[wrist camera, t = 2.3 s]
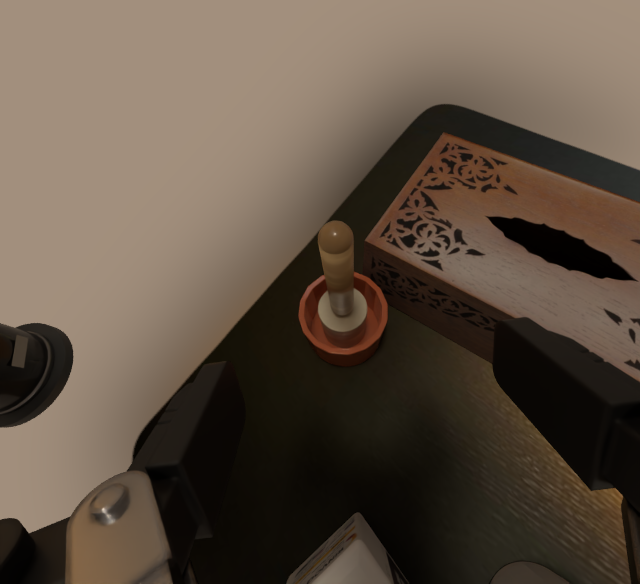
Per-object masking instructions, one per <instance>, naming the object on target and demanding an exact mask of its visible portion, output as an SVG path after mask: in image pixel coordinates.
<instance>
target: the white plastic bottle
mask: <svg viewBox="0 0 640 584" xmlns="http://www.w3.org/2000/svg"><path fill="white" fill-rule="evenodd" d="M490 584H570V583H569V582H568V581H566V580H565V579H563V578H562V577H561V576H559V575H557V574H555V573H554V572H552V571H551V570H549V569H548V568H546V567H544V566H542V565H539V564H536V563H532V562H525V561H521V562H514V563H510V564H508V565H506V566H504V567H503V568H502V569H500V570H499V571H498V572H497V573H496V575H495V576H494V577H493V579H492V581H491V583H490Z"/></svg>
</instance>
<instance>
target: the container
mask: <svg viewBox="0 0 640 584" xmlns="http://www.w3.org/2000/svg"><path fill="white" fill-rule="evenodd" d="M286 584H409V582H408V581H407V579H406V578H405V577H404V575H403V574H402V572H401V571H400V569H399V568H398V567H397V565H396V564H395V562H394V561H393V559H392V558H391V556H390V555H389V554H388V552H387V551H386V549H385V548H384V546H383V545H382V544H381V542H380V541H379V539H378V538H377V536H376V535H375V533H374V532H373V531H372V529H371V528H370V526H369V525H368V523H367V522H366V520H365V519H364V518H363V516H362V515H361V514H360V513H355V514H354V515H353V516H352V517H351V518H350V519H348V520H347V521H346V522H345V523H344V524H343V525H342V526H341V527H340V528H339V529H338V530H337V531H336V532H335V533H334V534H333V535H332V536H331V537H330V538H329V539H328V540H327V541H326V542H324V543H323V544H322V545H321V546H320V547H319V548H318V549H317V550H316V551H315V552H314V553H313V554H312V555H311V556H310V557H309V558H308V559H307V560H306V561H305V562H304V563H303V564H302V565H300V566H299V567H298V568H297V569H296V570H295V571H294V572H293V573H292V574H291V575H290V577H289V578H288V581H287V583H286Z"/></svg>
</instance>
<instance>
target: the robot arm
mask: <svg viewBox="0 0 640 584" xmlns="http://www.w3.org/2000/svg"><path fill="white" fill-rule="evenodd" d="M53 364H54V350H53V347H52V344H51V343H50V341H49V340H48V339H47V338H46V337H45V336H43V335H41V334H38V333H34V332H30V331H24V330H21V329H17V328H14V327H10V326H7V325H4V324H1V323H0V415H3V414H8V413H11V412H14V411H16V410H18V409H20V408H22V407H23V406H25V405H26V404H28V403H29V402H30V401H31V400H32V399H33V398H34V397H35V396H36V395H37V394H38V393H39V392H40V391H41V390H42V388H43V387H44V385H45V384H46V382H47V380H48V379H49V376H50V374H51V371H52V368H53ZM493 372H494V376H495V378H496V381H497V383H498V384H499V386H500V387H501V388H502V389H503V391H504V392H505V393H506V394H507V395H508V396H509V397H510V399H511V400H512V401H513V402H514V403H515V404H516V405H517V407H518V408H519V409H520V410H521V411H522V412H523V413H524V415H525V416H526V417H527V418H528V419H529V420H530V421H531V423H532V424H533V425H534V426H535V427H536V428H537V429H538V431H539V432H540V433H541V434H542V435H543V436H544V437H545V439H546V440H547V441H548V442H549V443H550V444H551V445H552V447H553V448H554V449H555V450H556V451H557V452H558V453H559V455H560V456H561V457H562V458H563V459H564V460H565V461H566V463H567V464H568V465H569V466H570V467H571V468H572V469H573V471H574V472H575V473H576V474H577V475H578V476H579V477H580V479H581V480H582V481H583V482H584V483H585V484H586V485H587V487H588V488H589V489H590V490H591V491H593V490H601V489H608V488H616V489H617V490H618V491H619V492H620V493H621V494H622V495H623V500H622V504H621V511H622V519H623V526H624V533H625V541H626V548H627V555H628V563H629V570H630V577H631V584H640V382H639V381H637V380H636V379H634V378H633V377H631V376H630V375H628V374H626V373H625V372H623V371H622V370H620V369H619V368H617V367H616V366H614V365H612V364H611V363H609V362H605V361H604V359H603V358H601V357H600V356H598V355H597V354H595V353H594V352H590V351H589V349H587V348H586V347H584V346H583V345H581V344H579V343H578V342H576V341H575V340H573V339H572V338H569V337H566V336H563V335H561V334H558V333H555V332H553V331H548V330H546V329H545V328H543V327H542V326H540V325H539V324H537V323H536V322H534V321H533V320H531V319H530V318H528V317H521V318H514V319H507V320H501V321H498V322H497V323H496V324H495V328H494V346H493ZM245 416H246V410H245V402H244V398H243V395H242V392H241V389H240V386H239V382H238V379H237V376H236V373H235V370H234V367H233V364H232V363H231V362H230V361H224V362H218V363H211V364H205V365H204V366H203V367H202V368H201V370H200V372H199V373H198V375H197V377H196V379H195V380H194V382H193V383H189V384H187V385H186V386H185V387H184V388H183V389H181V390H180V391H179V392H178V393H177V394H176V395H175V396H174V397H173V399H172V400H171V402H170V403H169V405H168V407H167V408H166V410H165V413H163V415H162V416H161V418H160V419H159V421H158V425H156V426H155V427H154V429H153V430H152V432H151V434H150V435H149V437H148V438H147V440H146V442H145V443H144V445H143V446H142V448H141V449H140V451H139V453H138V454H137V456H136V457H135V459H134V461H133V462H132V464H131V465H130V467H129V469H128V470H127V472H124V473H120V474H118V475H116V476H114V477H112V478H110V479H108V480H106V481H105V482H103V483H101V484H100V485H99V486H97V487H96V488H95V489H94V490H92V491H91V492H90V493H89V494H88V495H87V496H86V497H85V498H84V499H83V500H82V501H81V502H80V504H79V505H78V506H77V507H76V509H75V510H74V512H73V514H72V515H71V516H70V517H68V518H66V519H63V520H61V521H58V522H56V523H54V524H51V525H49V526H46V527H44V528H41V529H39V530H37V531H34V532H32V533H28V532H27V531H26V529H25V528H24V527H23V525H22V524H21V523H20V521H19V520H17V519H14V518H7V519H2V520H0V584H199V583H198V580H197V577H196V574H195V571H194V568H193V565H192V562H191V560H190V558H189V555H190V551H191V548H192V545H193V542H194V539H201V538H209V537H213V534H214V531H215V527H216V523H217V520H218V516H219V513H220V509H221V506H222V502H223V498H224V495H225V491H226V488H227V484H228V480H229V477H230V473H231V470H232V466H233V462H234V459H235V455H236V452H237V448H238V445H239V441H240V437H241V434H242V430H243V427H244V423H245Z"/></svg>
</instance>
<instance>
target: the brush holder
mask: <svg viewBox="0 0 640 584" xmlns="http://www.w3.org/2000/svg"><path fill="white" fill-rule="evenodd" d="M354 288H355V289H356V290H358V291H359V292H360V293H361V294H362V295H363V296H364V298H365V300H366V302H367V318H366V327H365V333H364V336H363V338H362V339H361V341H360V342H359V343H357V344H356V345H354V346H352V347H348V348H341V347H337V346H335V345H333V344H332V343H330V342H329V341H328V339H327V338H326V336H325V333H324V330H323V327H322V324H321V321H320V317H319V314H318V304H319V301H320V299H321V297H322V296H323V294H324V293H325V292H326V291H328V290H327V285H326V280H325V275H323V276H321V277H319V278H318V279H317V280H316V281H314V282H313V283H312V284H311V285H309V286H308V288H307V290H306V291H305V293H304V295H303V297H302V298H301V301H300V308H299V320H300V323H301V327H302V330H303V333H304V334H305V336H306V338H307V340H308V342H309V344H310V346H311V347H312V348H313V350H314V351H315V352H316V354H317V355H318V356H319V357H320V358H322V359H323V360H325V361H326V362H328V363H330V364H333V365H336V366H354V365H358V364H360V363H362V362H364V361H366V360H367V359H368V358H370V357H371V356H372V355H373V354H374V353H375V351H376V350H377V348H378V346H379V344H380V342H381V339H382V337H383V334H384V331H385V327H386V324H387V321H388V305H387V302H386V299H385V297H384V295H383V293H382V290H381V289H380V288H379V287H378V286H377V285H376V284H375V283H374V282H373V281H372V280H371V279H370V278H368V277H366V276H364V275H361V274H359V273H356V272H354Z"/></svg>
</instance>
